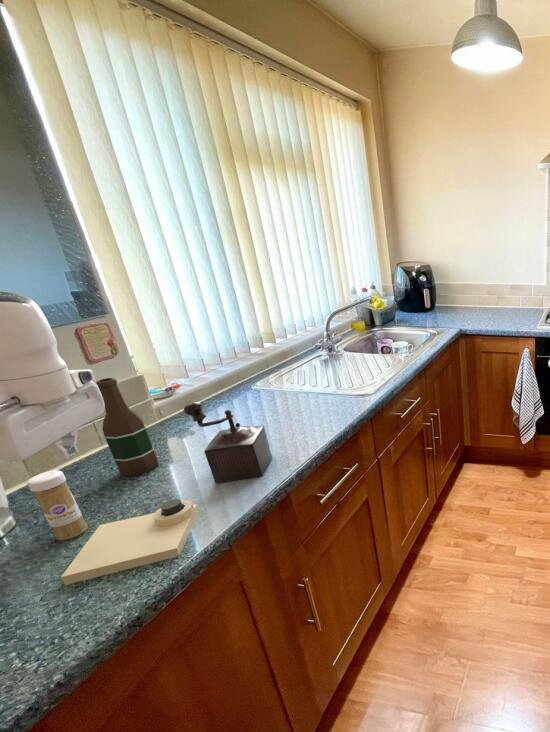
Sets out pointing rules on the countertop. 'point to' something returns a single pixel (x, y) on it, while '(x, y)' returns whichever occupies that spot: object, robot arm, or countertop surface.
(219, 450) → the manual coffee grinder
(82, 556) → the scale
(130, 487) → the countertop surface
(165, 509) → the button
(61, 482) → the sprinkles bottle
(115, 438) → the beer bottle
